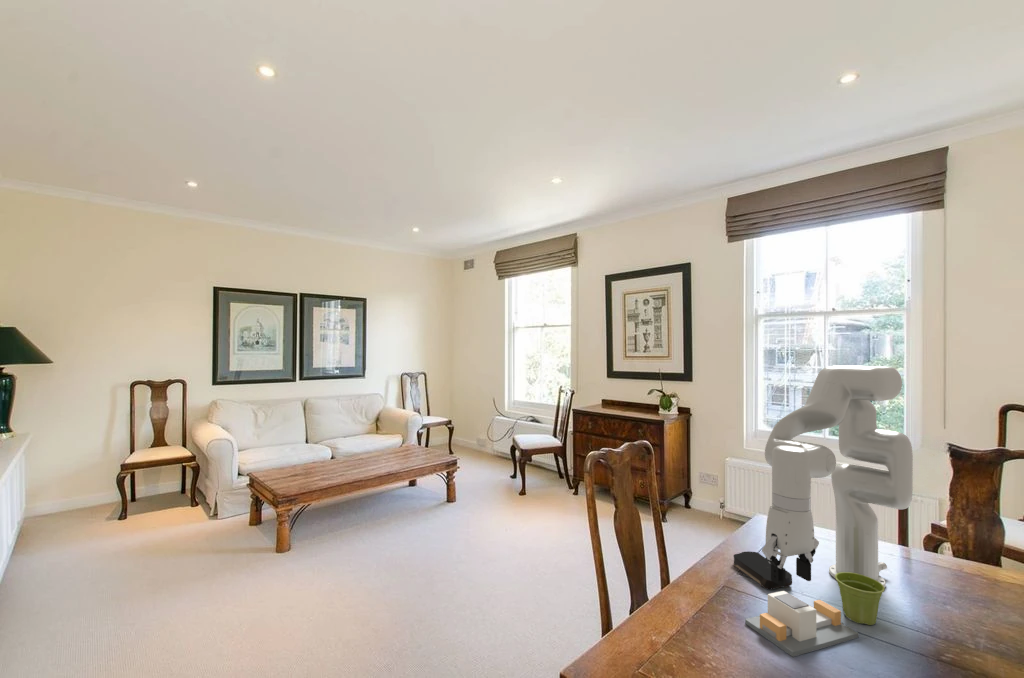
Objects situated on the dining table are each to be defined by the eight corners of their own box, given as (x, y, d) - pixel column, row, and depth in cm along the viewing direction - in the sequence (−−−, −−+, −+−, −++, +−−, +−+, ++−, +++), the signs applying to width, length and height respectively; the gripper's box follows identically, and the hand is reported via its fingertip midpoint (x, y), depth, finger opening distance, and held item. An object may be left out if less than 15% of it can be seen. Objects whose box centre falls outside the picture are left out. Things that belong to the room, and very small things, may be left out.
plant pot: (872, 634, 101) (872, 595, 102) (827, 612, 110) (827, 576, 110) (893, 623, 106) (892, 586, 106) (847, 603, 114) (847, 568, 114)
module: (783, 616, 106) (783, 589, 106) (816, 637, 99) (816, 608, 99) (767, 620, 105) (767, 593, 105) (799, 641, 97) (799, 612, 97)
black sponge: (796, 590, 120) (796, 576, 120) (768, 593, 119) (768, 579, 119) (754, 562, 136) (754, 550, 137) (729, 564, 135) (729, 551, 135)
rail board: (807, 608, 112) (807, 591, 112) (858, 637, 100) (858, 619, 100) (745, 623, 105) (745, 606, 105) (792, 656, 94) (792, 637, 94)
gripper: (803, 493, 109) (803, 567, 108) (747, 500, 103) (747, 579, 103) (834, 503, 102) (834, 583, 101) (777, 511, 96) (777, 596, 96)
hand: (791, 580), depth 102 cm, fingers open, 7 cm apart
